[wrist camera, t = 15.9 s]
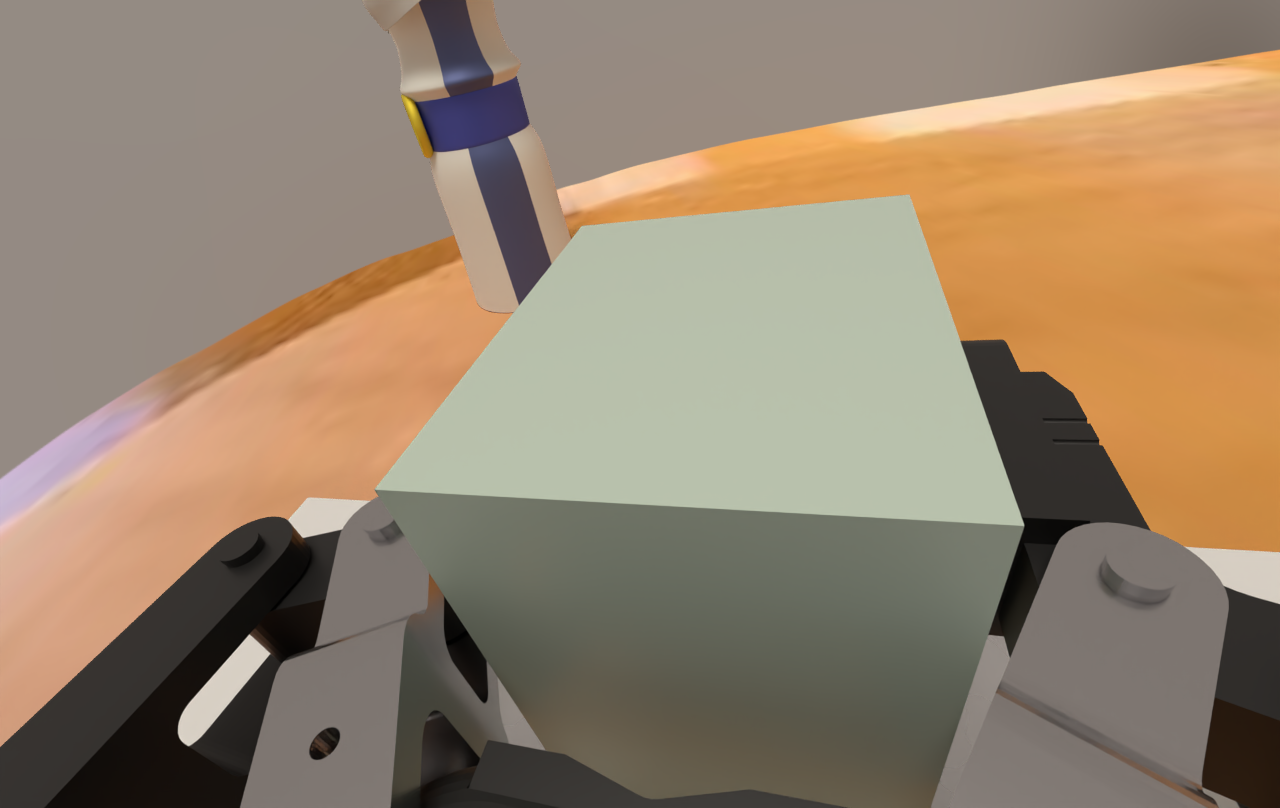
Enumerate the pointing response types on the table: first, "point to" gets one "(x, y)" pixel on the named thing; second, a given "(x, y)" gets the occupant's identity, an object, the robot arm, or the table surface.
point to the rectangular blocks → (1236, 569)
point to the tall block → (726, 506)
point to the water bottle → (477, 143)
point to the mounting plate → (962, 745)
